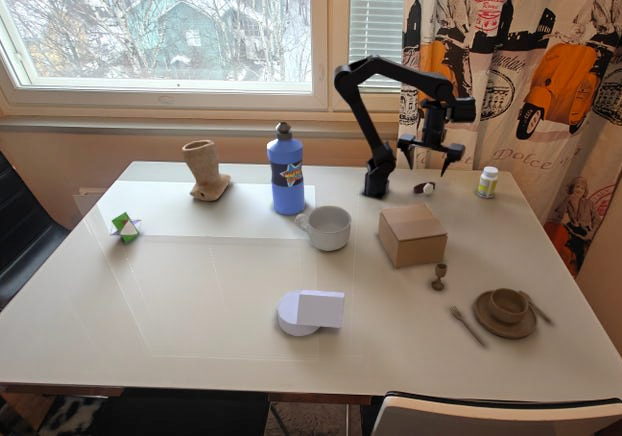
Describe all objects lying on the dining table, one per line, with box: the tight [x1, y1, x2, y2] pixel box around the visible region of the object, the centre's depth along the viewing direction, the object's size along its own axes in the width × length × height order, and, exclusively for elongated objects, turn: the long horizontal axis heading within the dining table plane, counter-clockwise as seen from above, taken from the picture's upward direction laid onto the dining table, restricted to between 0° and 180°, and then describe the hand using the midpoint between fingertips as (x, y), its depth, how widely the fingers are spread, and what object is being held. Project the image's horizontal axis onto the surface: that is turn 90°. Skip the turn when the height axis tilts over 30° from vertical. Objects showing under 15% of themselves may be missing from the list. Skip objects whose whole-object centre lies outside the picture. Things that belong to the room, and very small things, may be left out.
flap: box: [379, 203, 436, 225], centre depth 95 cm, size 6×12×1 cm, turn 103°
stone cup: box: [181, 139, 232, 202], centre depth 115 cm, size 15×12×15 cm
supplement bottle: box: [476, 166, 499, 199], centre depth 116 cm, size 5×5×8 cm
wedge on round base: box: [276, 289, 346, 337], centre depth 76 cm, size 9×7×13 cm
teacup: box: [294, 205, 352, 252], centre depth 96 cm, size 14×11×8 cm
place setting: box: [430, 262, 552, 346], centre depth 80 cm, size 18×20×6 cm
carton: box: [377, 211, 449, 269], centre depth 94 cm, size 13×12×8 cm
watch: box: [413, 181, 436, 195], centre depth 118 cm, size 8×5×4 cm, turn 122°
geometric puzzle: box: [110, 211, 142, 244], centre depth 98 cm, size 7×7×8 cm
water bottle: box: [266, 121, 306, 216], centre depth 105 cm, size 9×9×25 cm
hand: (426, 173), depth 116 cm, fingers open, 9 cm apart
